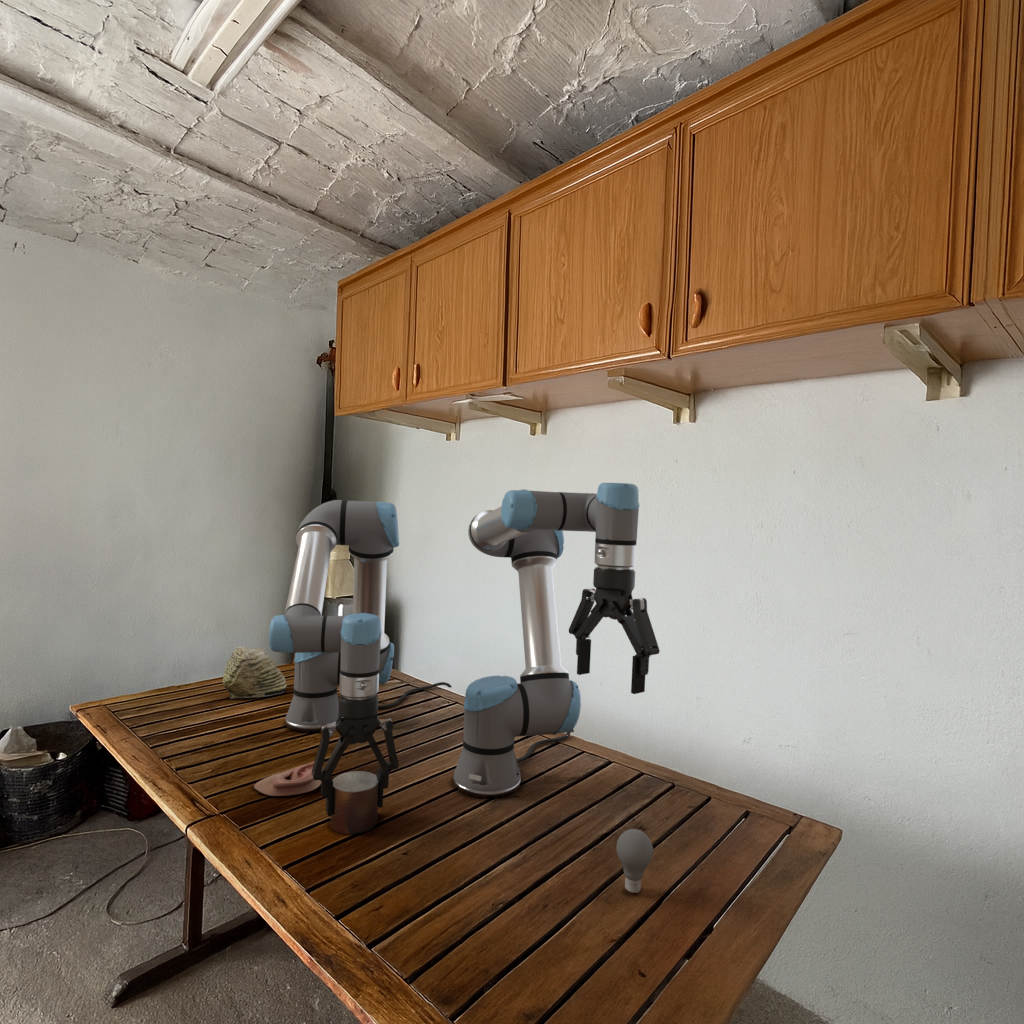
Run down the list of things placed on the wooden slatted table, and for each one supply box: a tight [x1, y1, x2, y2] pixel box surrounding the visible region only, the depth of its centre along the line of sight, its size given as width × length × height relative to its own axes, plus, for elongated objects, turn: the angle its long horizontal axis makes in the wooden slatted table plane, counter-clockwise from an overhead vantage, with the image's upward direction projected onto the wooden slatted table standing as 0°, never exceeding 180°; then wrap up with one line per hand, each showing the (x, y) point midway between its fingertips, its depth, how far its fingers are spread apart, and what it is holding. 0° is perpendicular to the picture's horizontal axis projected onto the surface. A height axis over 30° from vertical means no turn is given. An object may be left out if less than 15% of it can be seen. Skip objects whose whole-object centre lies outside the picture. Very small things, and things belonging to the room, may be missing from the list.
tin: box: [329, 770, 379, 835], centre depth 124 cm, size 9×9×8 cm
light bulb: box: [615, 828, 654, 894], centre depth 106 cm, size 6×6×10 cm
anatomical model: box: [253, 761, 324, 797], centre depth 138 cm, size 13×4×12 cm
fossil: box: [222, 646, 288, 699], centre depth 198 cm, size 9×18×15 cm, turn 132°
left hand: (354, 808), depth 124 cm, fingers closed on tin, 9 cm apart
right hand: (609, 682), depth 116 cm, fingers open, 13 cm apart
